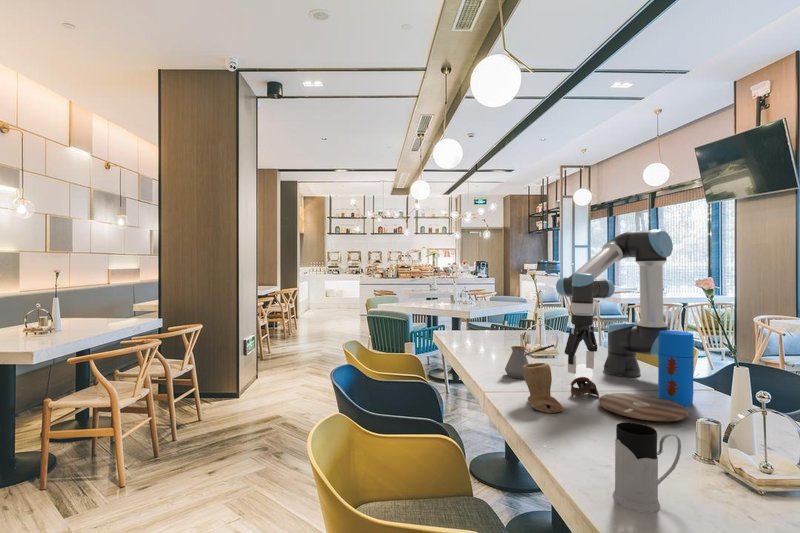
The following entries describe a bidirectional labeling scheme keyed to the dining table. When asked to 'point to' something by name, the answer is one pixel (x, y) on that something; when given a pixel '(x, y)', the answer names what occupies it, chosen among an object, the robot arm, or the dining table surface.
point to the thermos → (676, 367)
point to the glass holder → (639, 466)
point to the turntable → (643, 407)
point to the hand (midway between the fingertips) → (581, 370)
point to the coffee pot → (519, 361)
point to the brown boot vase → (540, 387)
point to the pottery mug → (583, 387)
